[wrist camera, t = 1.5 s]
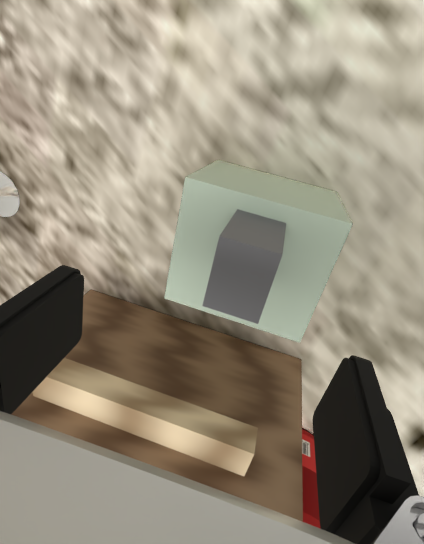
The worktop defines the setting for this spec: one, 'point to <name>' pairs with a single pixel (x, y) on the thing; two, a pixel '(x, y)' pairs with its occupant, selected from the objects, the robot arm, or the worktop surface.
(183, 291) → the mint green box
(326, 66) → the worktop surface
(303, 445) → the canned food
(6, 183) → the wineglass
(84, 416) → the wall board
